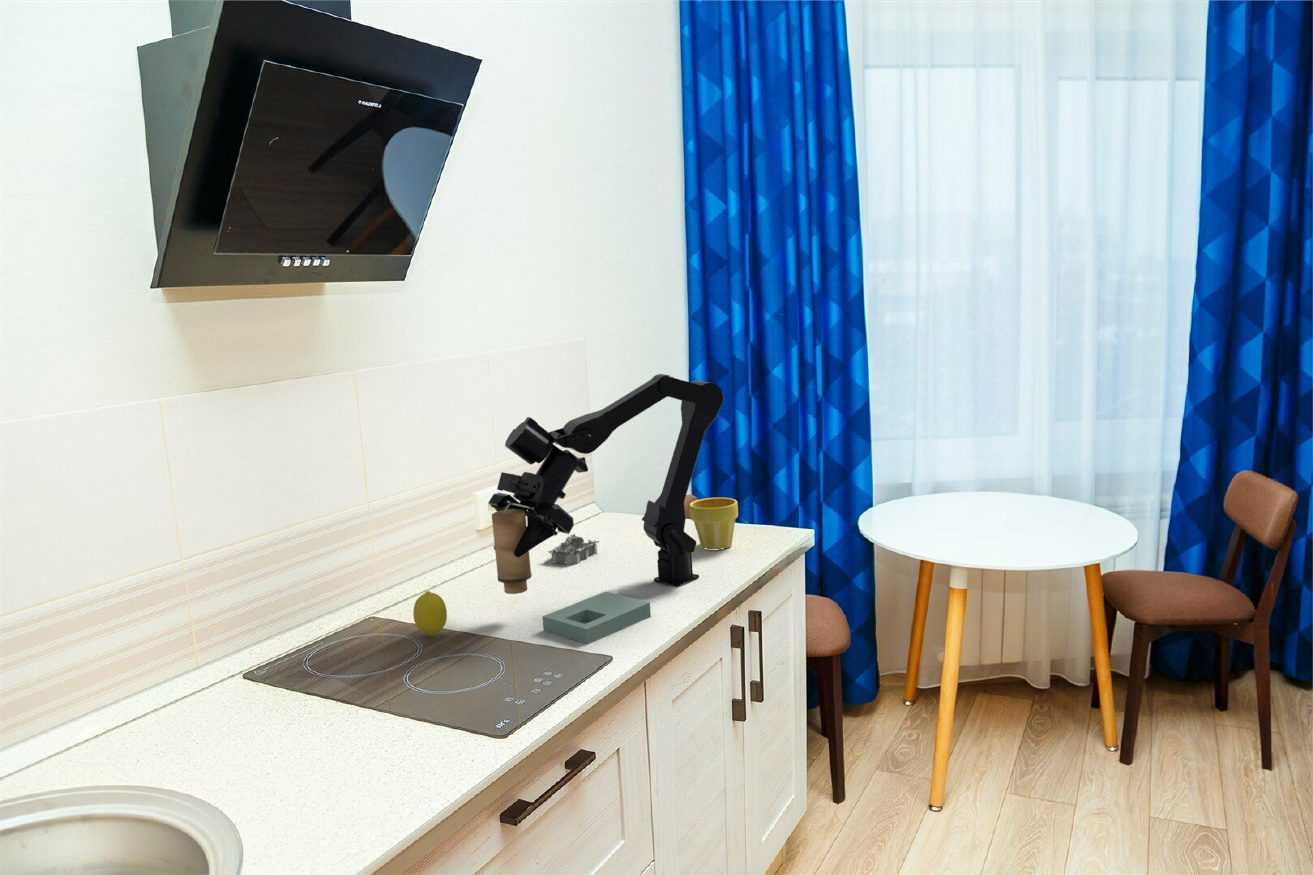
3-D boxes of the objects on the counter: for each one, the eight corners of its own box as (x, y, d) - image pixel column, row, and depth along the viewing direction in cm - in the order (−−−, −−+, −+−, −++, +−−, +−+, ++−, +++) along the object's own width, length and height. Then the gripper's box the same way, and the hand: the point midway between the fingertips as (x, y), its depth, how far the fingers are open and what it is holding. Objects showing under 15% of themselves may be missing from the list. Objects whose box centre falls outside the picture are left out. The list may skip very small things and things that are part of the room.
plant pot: (689, 542, 209) (686, 499, 207) (735, 537, 210) (732, 495, 208) (696, 555, 198) (693, 510, 197) (744, 550, 199) (741, 505, 198)
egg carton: (576, 550, 209) (574, 532, 209) (603, 553, 205) (602, 535, 205) (545, 563, 201) (544, 544, 200) (573, 567, 196) (572, 548, 196)
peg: (518, 582, 170) (511, 507, 168) (539, 588, 167) (532, 511, 164) (492, 591, 166) (484, 515, 164) (513, 597, 162) (505, 519, 160)
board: (606, 604, 171) (605, 591, 171) (650, 616, 164) (649, 602, 163) (543, 630, 160) (542, 616, 160) (587, 643, 153) (586, 629, 153)
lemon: (440, 642, 158) (436, 596, 157) (410, 641, 159) (405, 596, 158) (454, 630, 163) (449, 586, 162) (424, 629, 164) (419, 586, 163)
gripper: (492, 449, 172) (445, 521, 166) (554, 458, 158) (505, 537, 153) (531, 483, 178) (487, 553, 173) (594, 494, 165) (549, 571, 159)
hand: (505, 553), depth 164 cm, fingers closed on peg, 6 cm apart
